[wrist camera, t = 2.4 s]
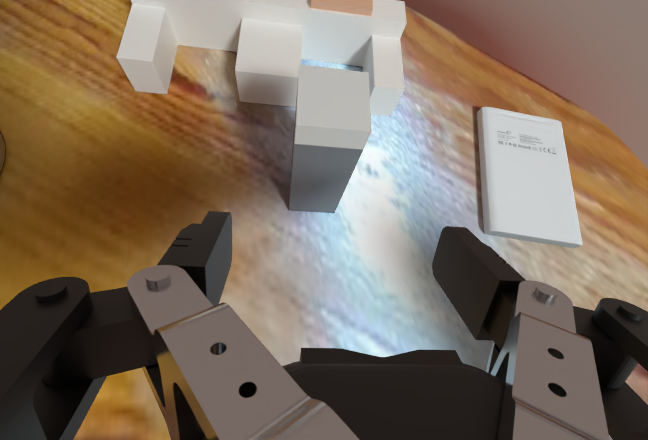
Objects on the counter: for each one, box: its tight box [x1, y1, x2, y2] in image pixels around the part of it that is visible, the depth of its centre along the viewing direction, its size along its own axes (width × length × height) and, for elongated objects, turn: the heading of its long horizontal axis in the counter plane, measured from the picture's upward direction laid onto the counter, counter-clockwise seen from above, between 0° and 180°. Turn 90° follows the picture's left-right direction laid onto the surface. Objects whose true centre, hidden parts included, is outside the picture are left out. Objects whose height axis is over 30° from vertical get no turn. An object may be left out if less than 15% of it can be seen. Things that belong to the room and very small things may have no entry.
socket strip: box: [116, 0, 406, 116], centre depth 27 cm, size 22×8×6 cm, turn 89°
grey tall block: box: [289, 65, 371, 213], centre depth 21 cm, size 4×4×11 cm
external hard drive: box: [477, 107, 582, 248], centre depth 29 cm, size 2×8×12 cm
